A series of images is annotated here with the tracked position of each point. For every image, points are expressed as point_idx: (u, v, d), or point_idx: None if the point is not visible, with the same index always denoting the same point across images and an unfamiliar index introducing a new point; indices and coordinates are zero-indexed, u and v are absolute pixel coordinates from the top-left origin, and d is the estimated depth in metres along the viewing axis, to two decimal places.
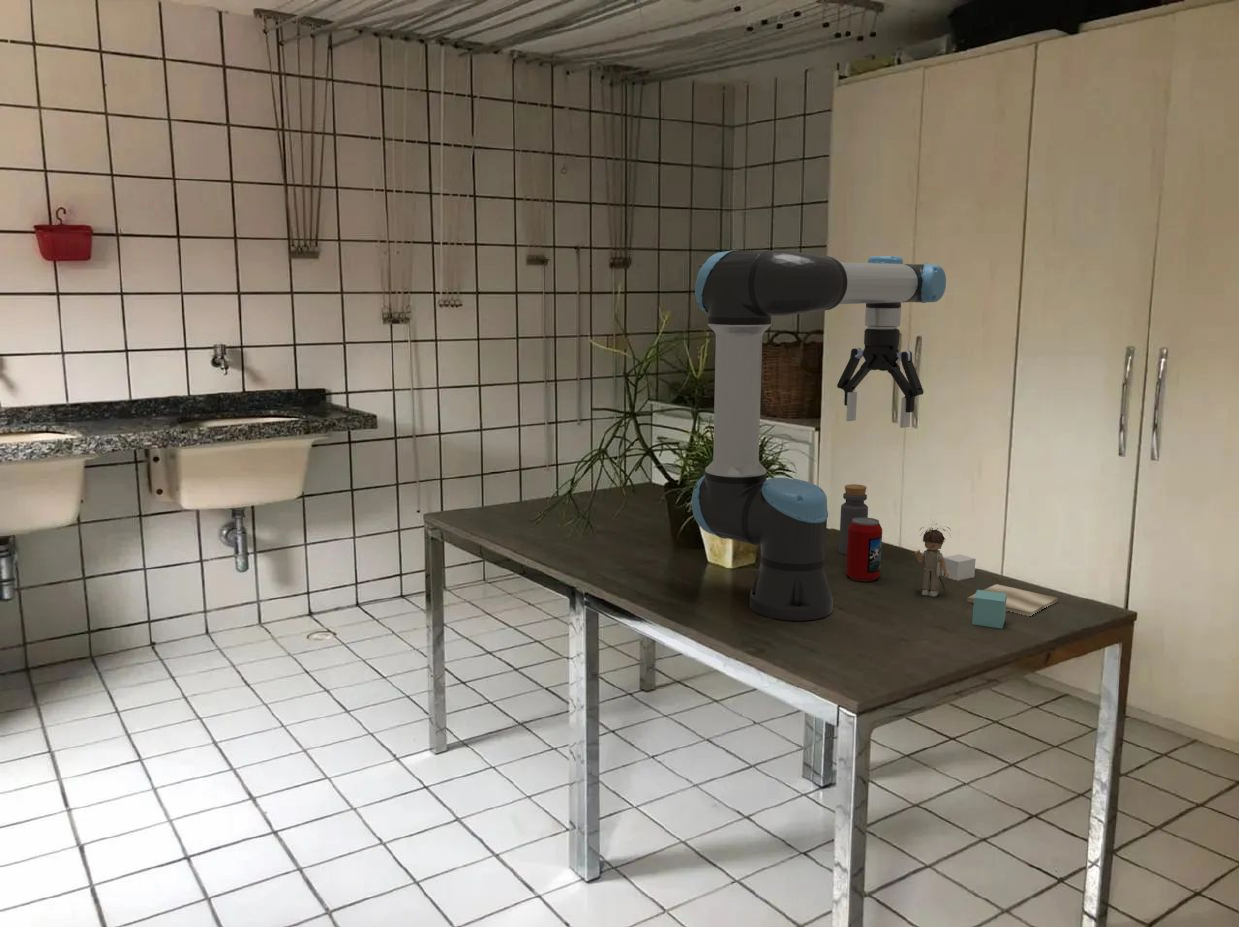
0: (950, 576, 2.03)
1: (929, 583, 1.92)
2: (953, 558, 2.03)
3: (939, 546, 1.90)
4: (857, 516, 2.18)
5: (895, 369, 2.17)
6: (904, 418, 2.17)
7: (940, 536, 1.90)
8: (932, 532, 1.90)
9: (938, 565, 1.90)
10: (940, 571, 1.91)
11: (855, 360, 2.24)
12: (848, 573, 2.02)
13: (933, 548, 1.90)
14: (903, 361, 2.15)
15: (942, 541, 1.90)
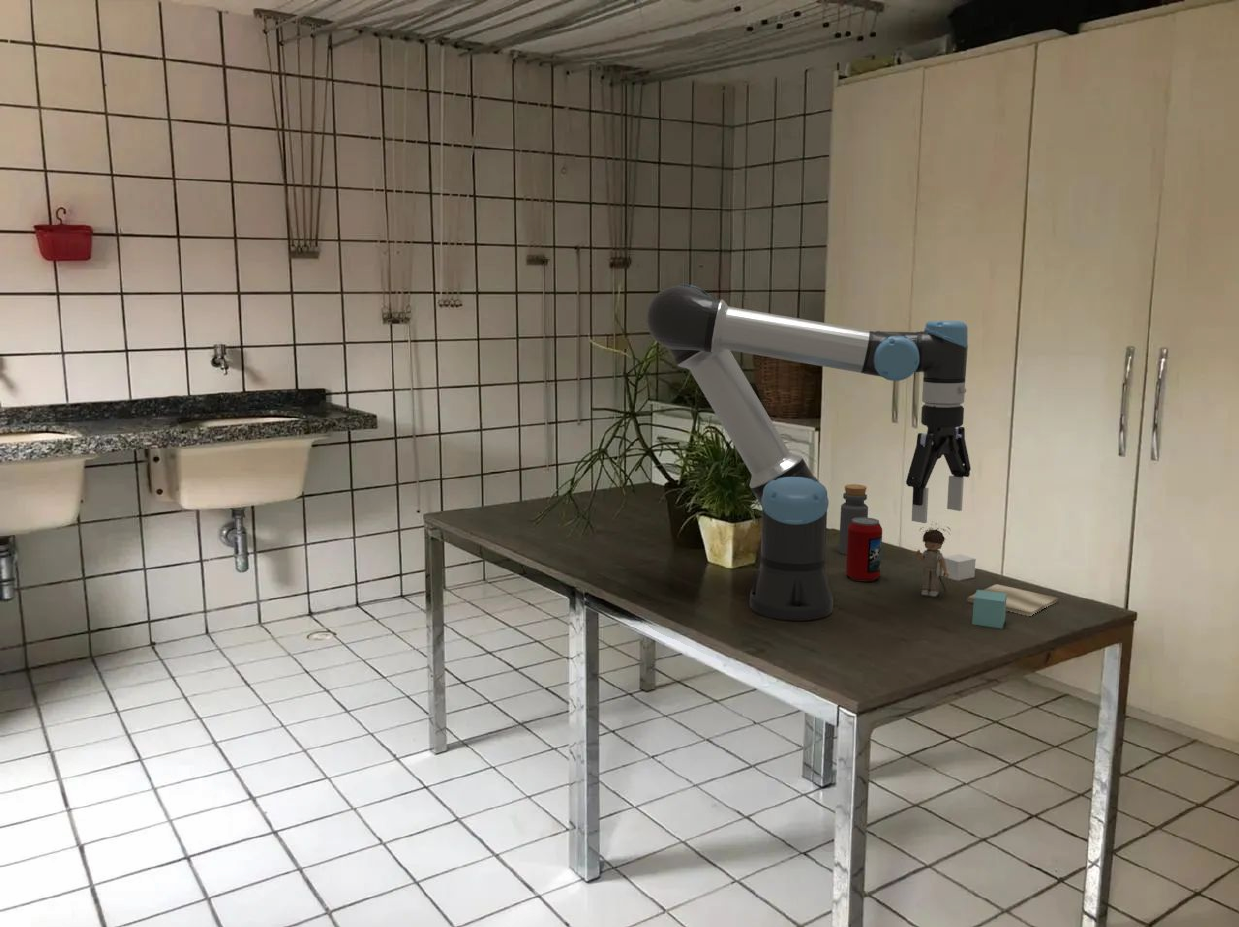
0: (950, 576, 2.03)
1: (929, 583, 1.92)
2: (953, 558, 2.03)
3: (939, 546, 1.90)
4: (857, 516, 2.18)
5: None
6: (913, 510, 1.85)
7: (940, 536, 1.90)
8: (932, 532, 1.90)
9: (938, 565, 1.90)
10: (940, 571, 1.91)
11: None
12: (848, 573, 2.02)
13: (933, 548, 1.90)
14: None
15: (942, 541, 1.90)
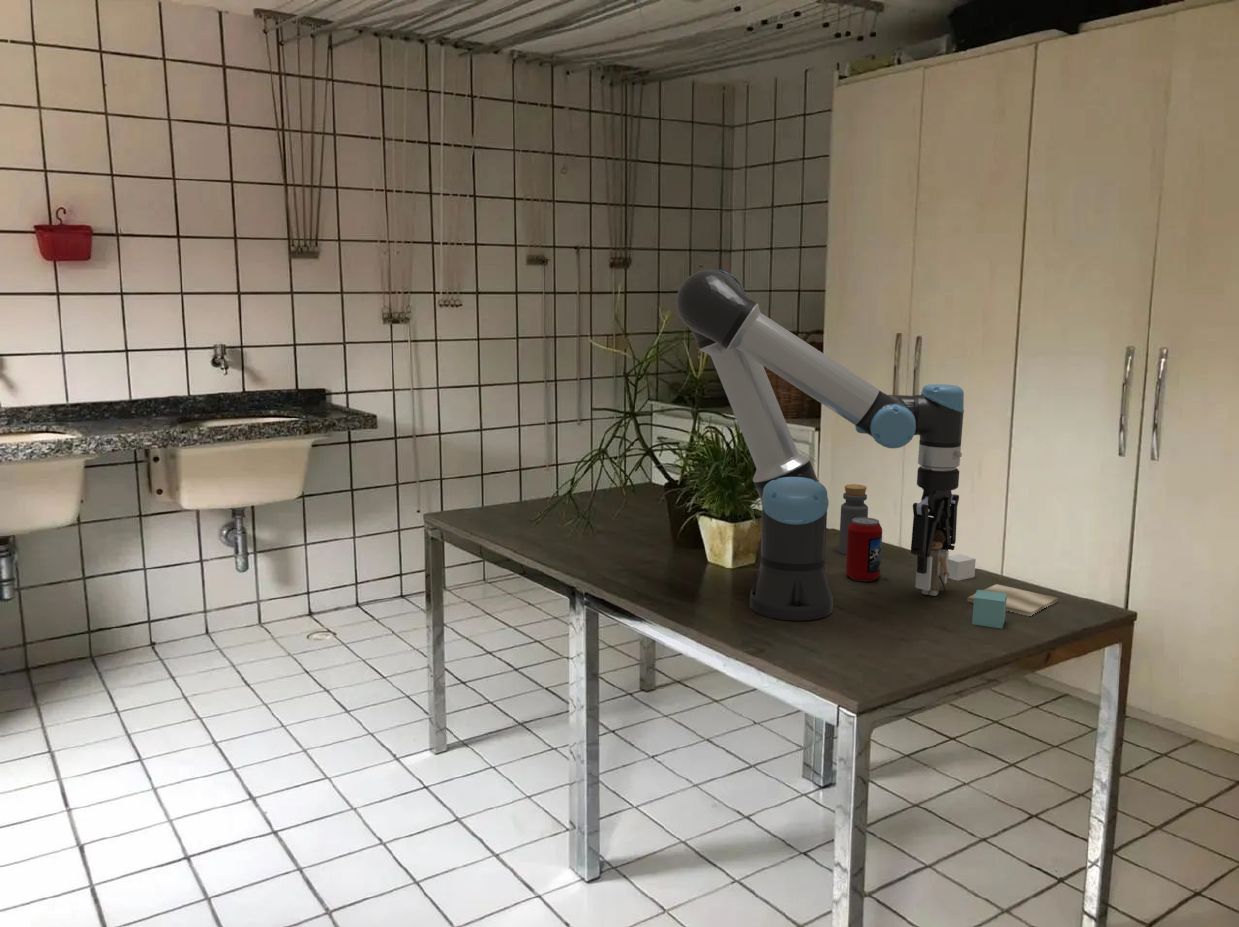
0: (950, 576, 2.03)
1: None
2: (953, 558, 2.03)
3: (940, 545, 1.91)
4: (857, 516, 2.18)
5: None
6: (917, 578, 1.90)
7: (941, 535, 1.90)
8: None
9: (939, 564, 1.90)
10: (940, 570, 1.91)
11: None
12: (848, 573, 2.02)
13: (934, 547, 1.90)
14: None
15: (943, 540, 1.90)
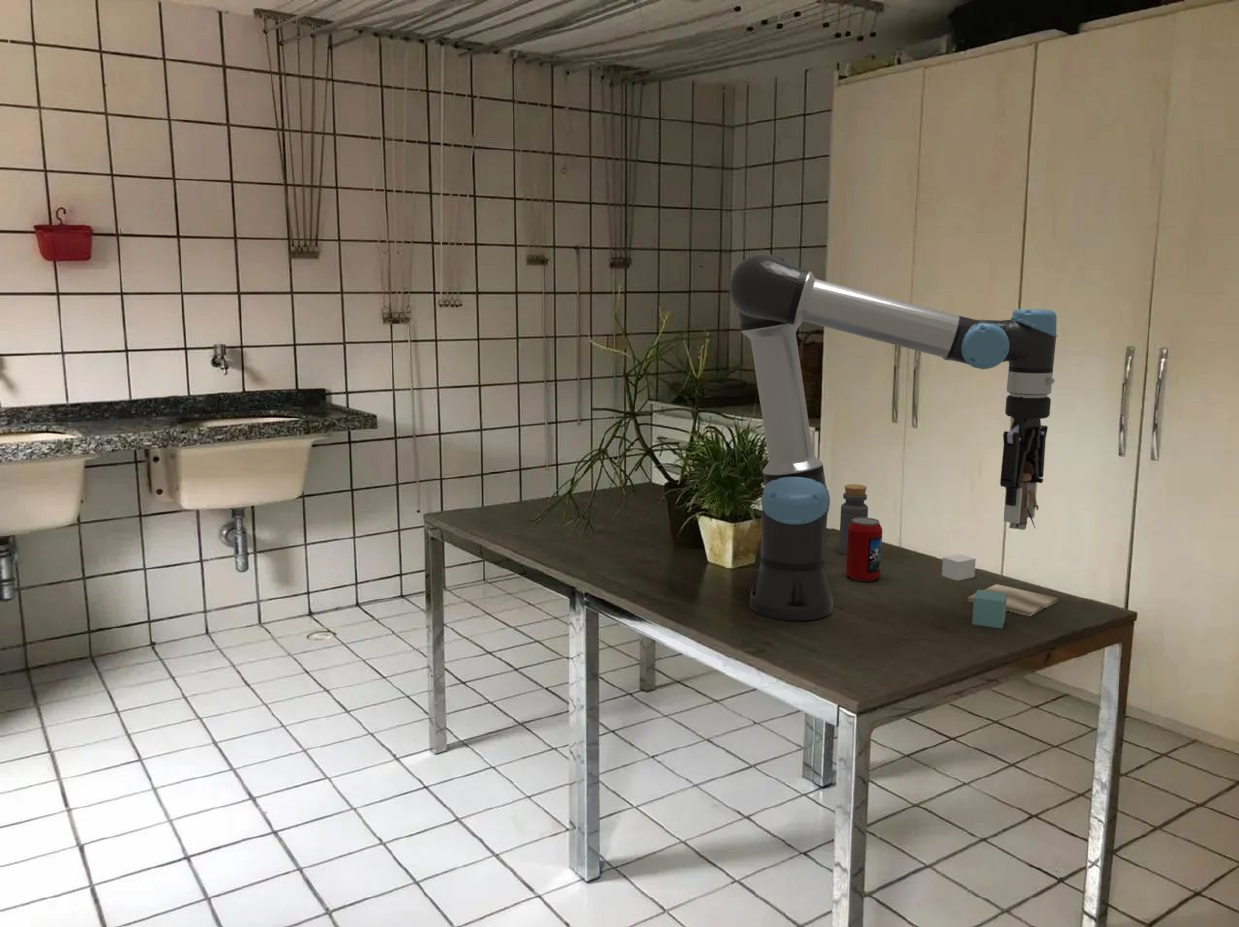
0: (950, 576, 2.03)
1: None
2: (953, 558, 2.03)
3: (1029, 477, 1.84)
4: (857, 516, 2.18)
5: None
6: (1005, 511, 1.83)
7: (1031, 466, 1.83)
8: None
9: (1028, 497, 1.83)
10: (1029, 503, 1.84)
11: None
12: (848, 573, 2.02)
13: (1023, 479, 1.84)
14: None
15: (1033, 472, 1.83)
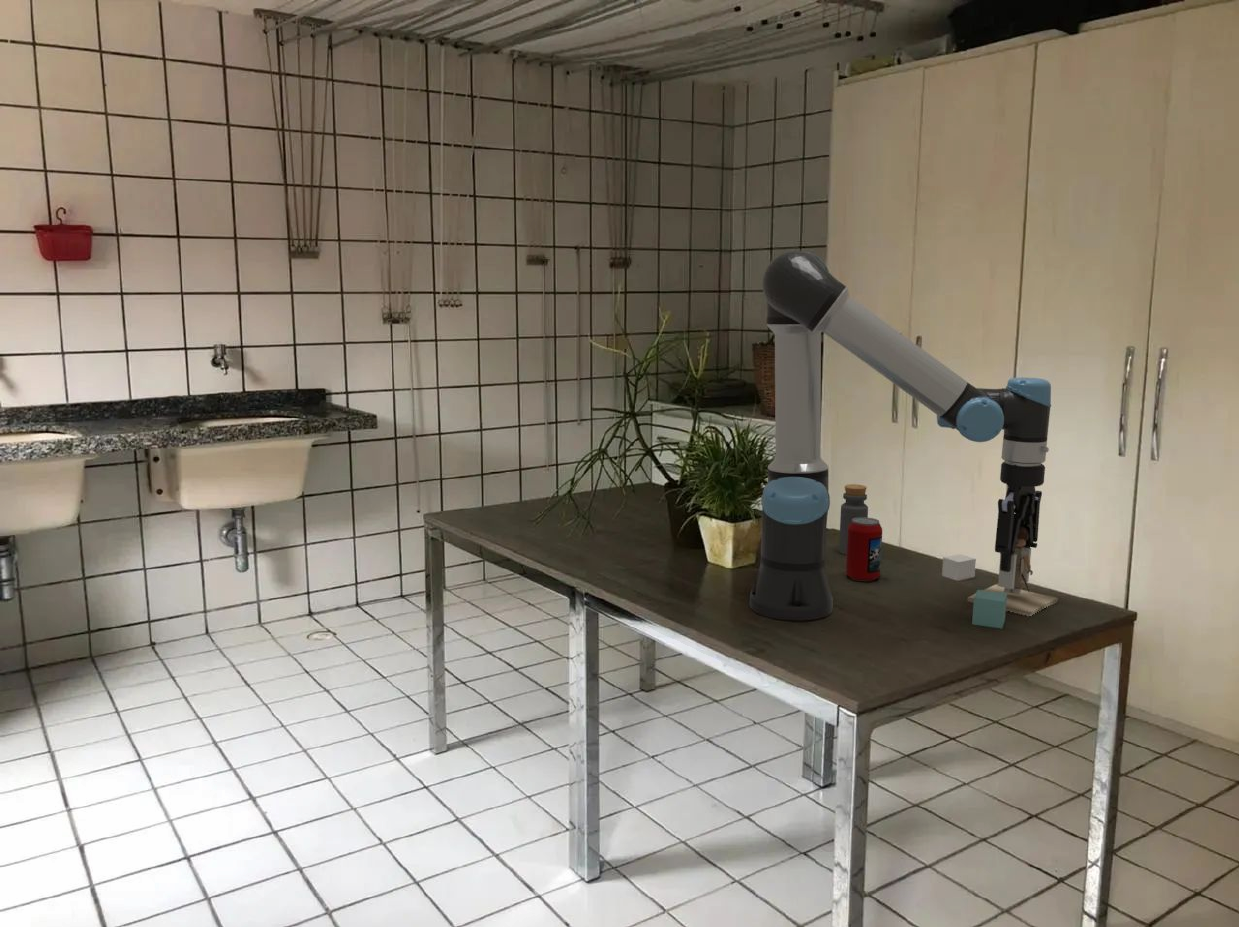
0: (950, 576, 2.03)
1: None
2: (953, 558, 2.03)
3: (1024, 543, 1.86)
4: (857, 516, 2.18)
5: None
6: (1000, 576, 1.86)
7: (1025, 532, 1.85)
8: None
9: (1022, 562, 1.86)
10: (1024, 568, 1.87)
11: None
12: (848, 573, 2.02)
13: (1017, 544, 1.86)
14: None
15: (1027, 537, 1.86)
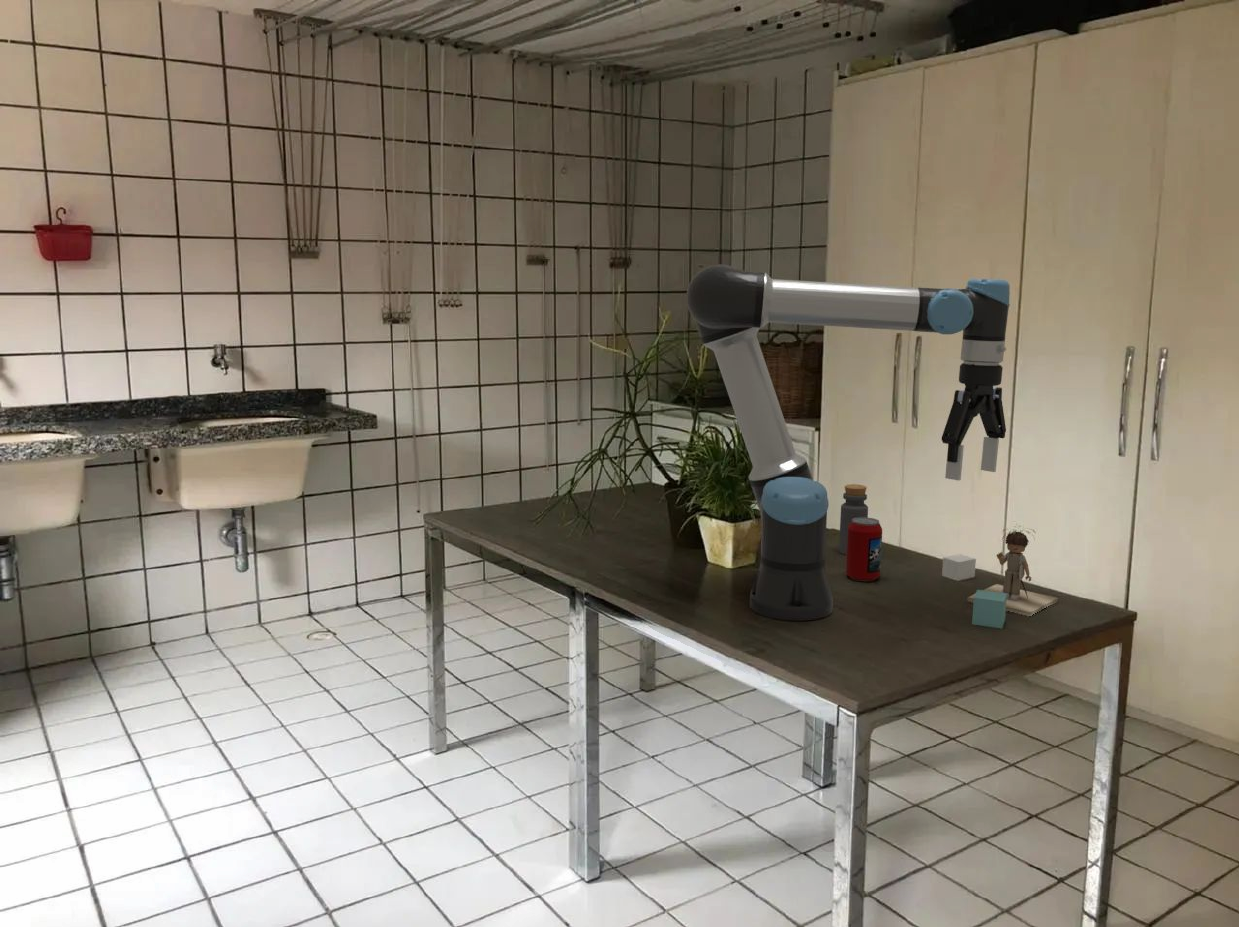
0: (950, 576, 2.03)
1: (1010, 586, 1.87)
2: (953, 558, 2.03)
3: (1022, 549, 1.85)
4: (857, 516, 2.18)
5: None
6: (947, 468, 1.86)
7: (1024, 538, 1.85)
8: (1016, 534, 1.85)
9: (1021, 568, 1.85)
10: (1022, 574, 1.86)
11: None
12: (848, 573, 2.02)
13: (1016, 551, 1.85)
14: None
15: (1026, 544, 1.85)
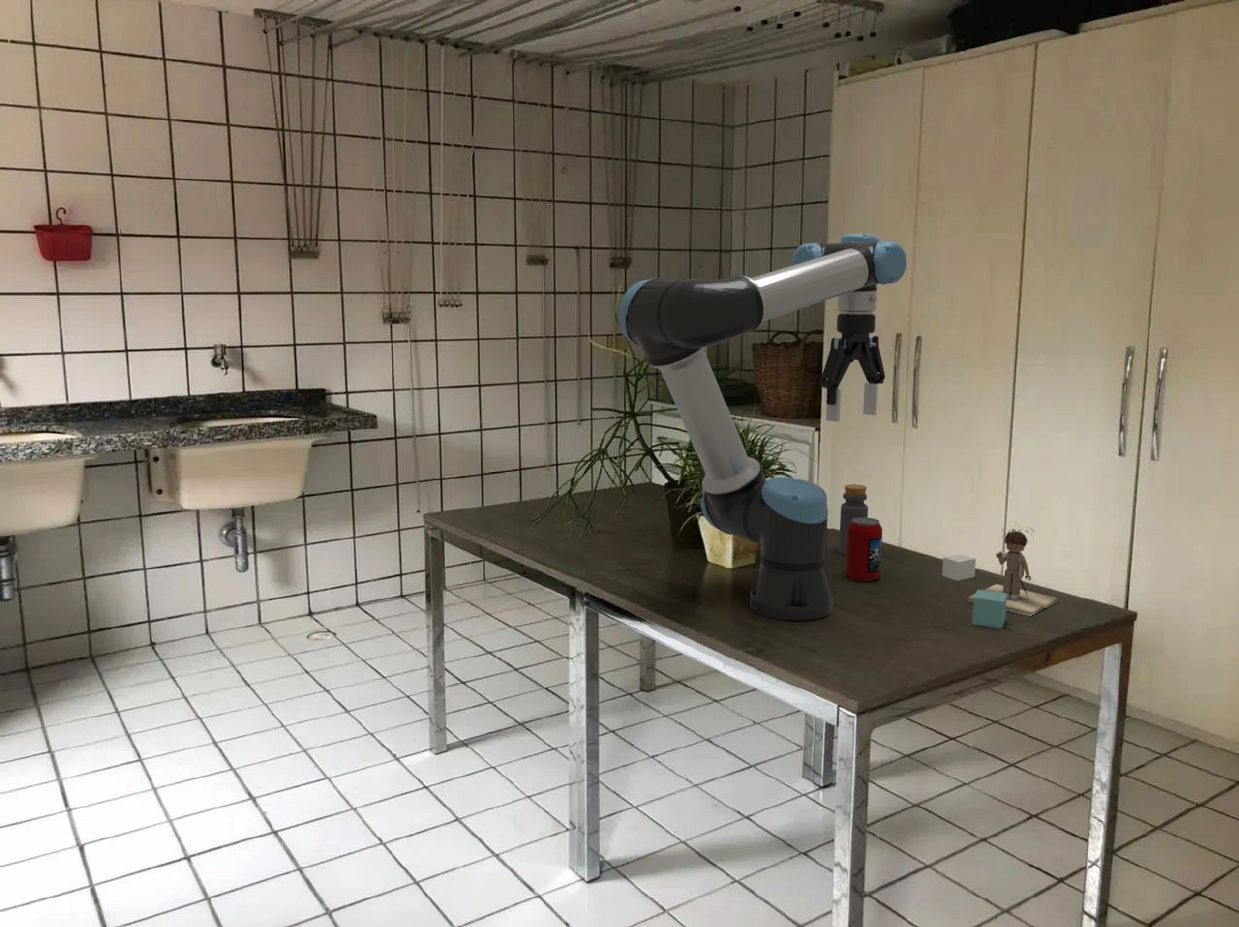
0: (950, 576, 2.03)
1: (1010, 586, 1.87)
2: (953, 558, 2.03)
3: (1022, 548, 1.86)
4: (857, 516, 2.18)
5: None
6: (827, 410, 2.00)
7: (1023, 538, 1.85)
8: (1015, 533, 1.86)
9: (1020, 567, 1.86)
10: (1022, 574, 1.86)
11: None
12: (848, 573, 2.02)
13: (1015, 550, 1.86)
14: None
15: (1025, 543, 1.85)
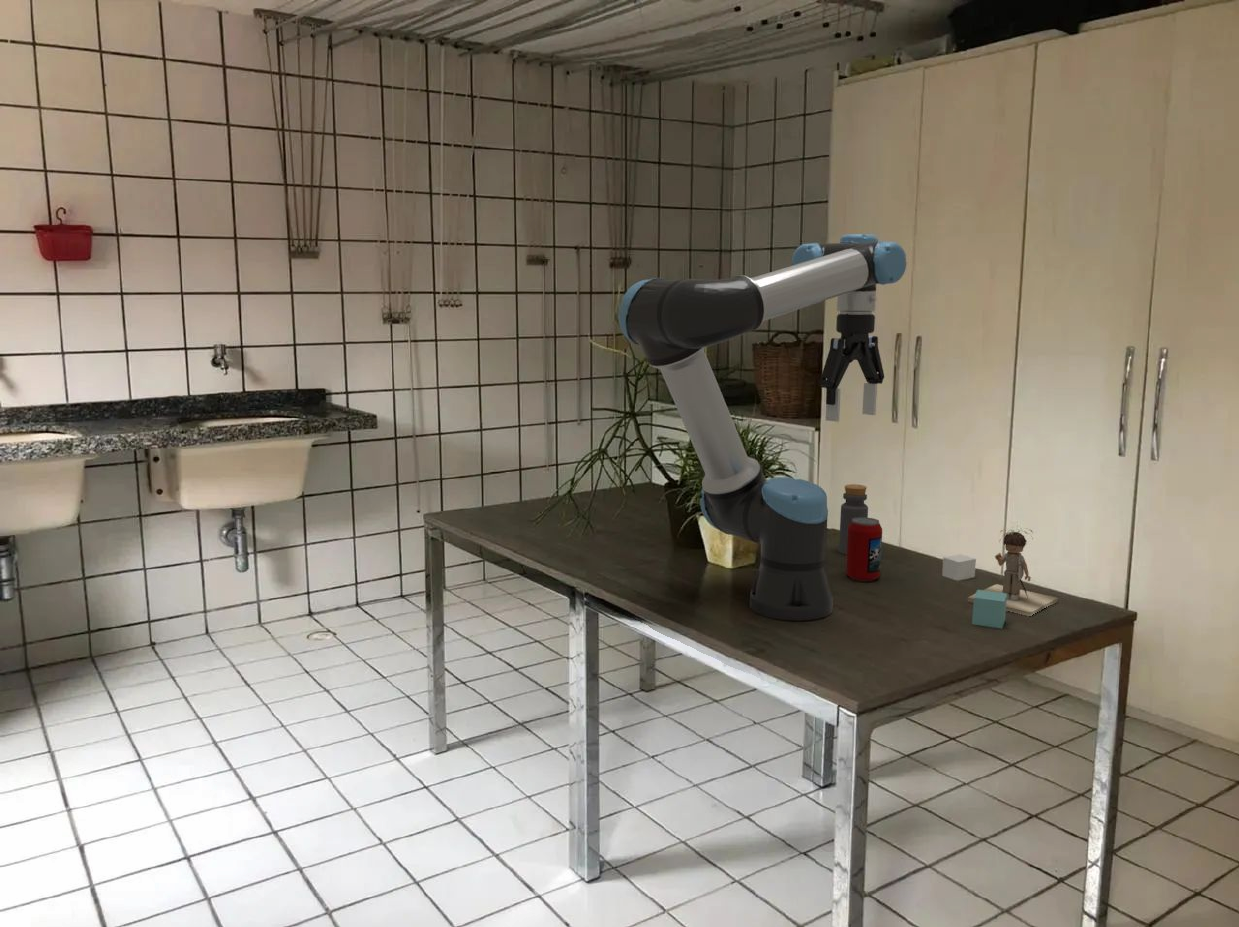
0: (950, 576, 2.03)
1: (1010, 587, 1.87)
2: (953, 558, 2.03)
3: (1021, 549, 1.85)
4: (857, 516, 2.18)
5: None
6: (827, 410, 2.00)
7: (1022, 539, 1.85)
8: (1013, 535, 1.85)
9: (1020, 568, 1.85)
10: (1022, 574, 1.86)
11: None
12: (848, 573, 2.02)
13: (1014, 551, 1.85)
14: None
15: (1024, 544, 1.85)
